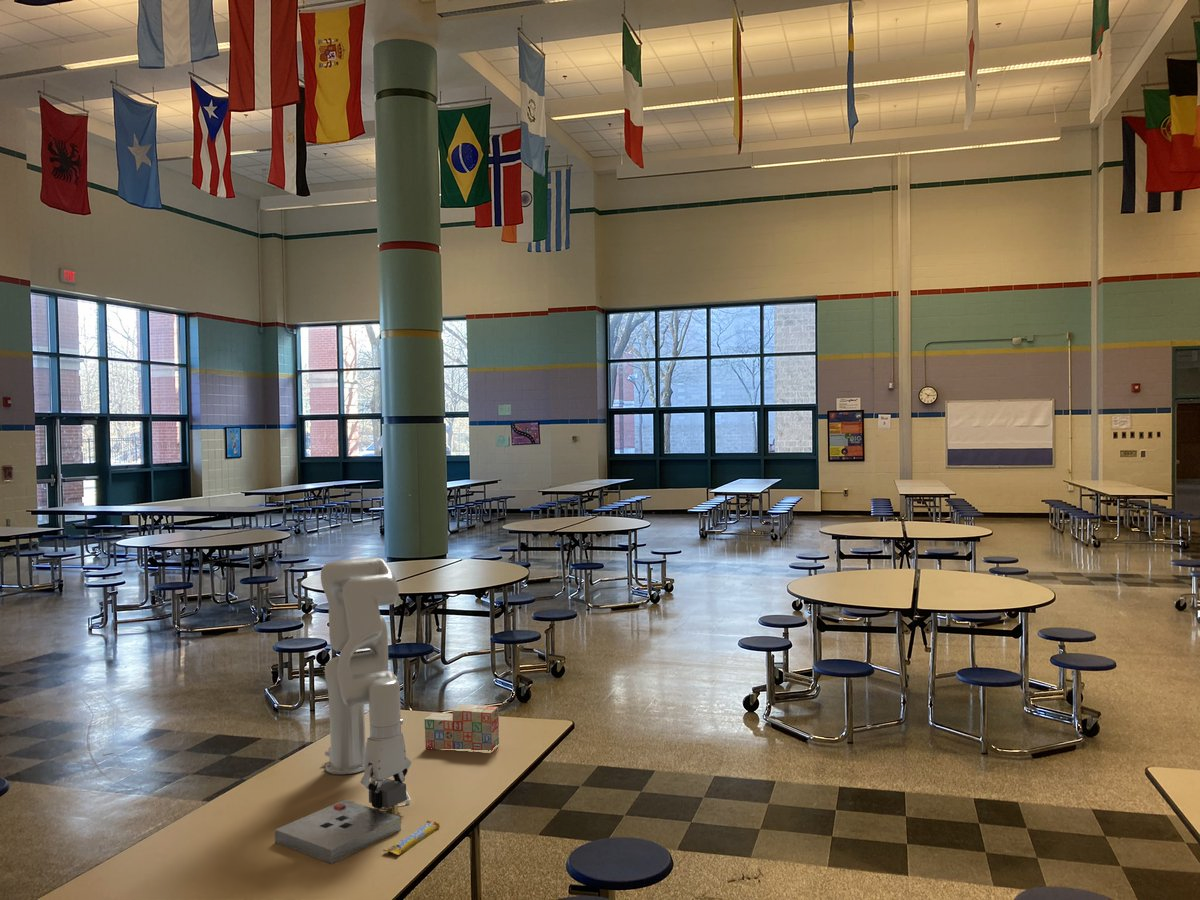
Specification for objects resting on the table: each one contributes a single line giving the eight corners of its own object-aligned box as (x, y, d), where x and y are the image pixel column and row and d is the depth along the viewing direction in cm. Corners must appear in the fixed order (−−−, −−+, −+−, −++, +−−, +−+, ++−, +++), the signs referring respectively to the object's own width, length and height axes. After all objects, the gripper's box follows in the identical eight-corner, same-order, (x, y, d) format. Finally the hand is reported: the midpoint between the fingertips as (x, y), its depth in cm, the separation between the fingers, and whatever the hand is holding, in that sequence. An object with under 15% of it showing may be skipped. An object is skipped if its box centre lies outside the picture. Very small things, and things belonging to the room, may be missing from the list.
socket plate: (275, 842, 205) (274, 827, 205) (345, 811, 222) (344, 797, 222) (331, 863, 194) (331, 847, 194) (401, 829, 210) (400, 814, 210)
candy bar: (427, 826, 213) (427, 818, 213) (442, 828, 211) (442, 821, 211) (382, 856, 198) (381, 848, 198) (397, 860, 196) (397, 851, 196)
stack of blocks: (424, 749, 265) (423, 708, 265) (433, 742, 271) (432, 702, 271) (492, 754, 260) (490, 712, 260) (499, 746, 266) (498, 705, 266)
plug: (362, 810, 221) (361, 784, 221) (381, 802, 226) (380, 776, 226) (388, 819, 216) (387, 792, 216) (406, 810, 221) (406, 783, 220)
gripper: (401, 717, 229) (403, 787, 229) (347, 737, 215) (349, 811, 215) (421, 722, 225) (423, 793, 225) (368, 742, 211) (370, 818, 211)
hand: (387, 801), depth 220 cm, fingers closed on plug, 6 cm apart
